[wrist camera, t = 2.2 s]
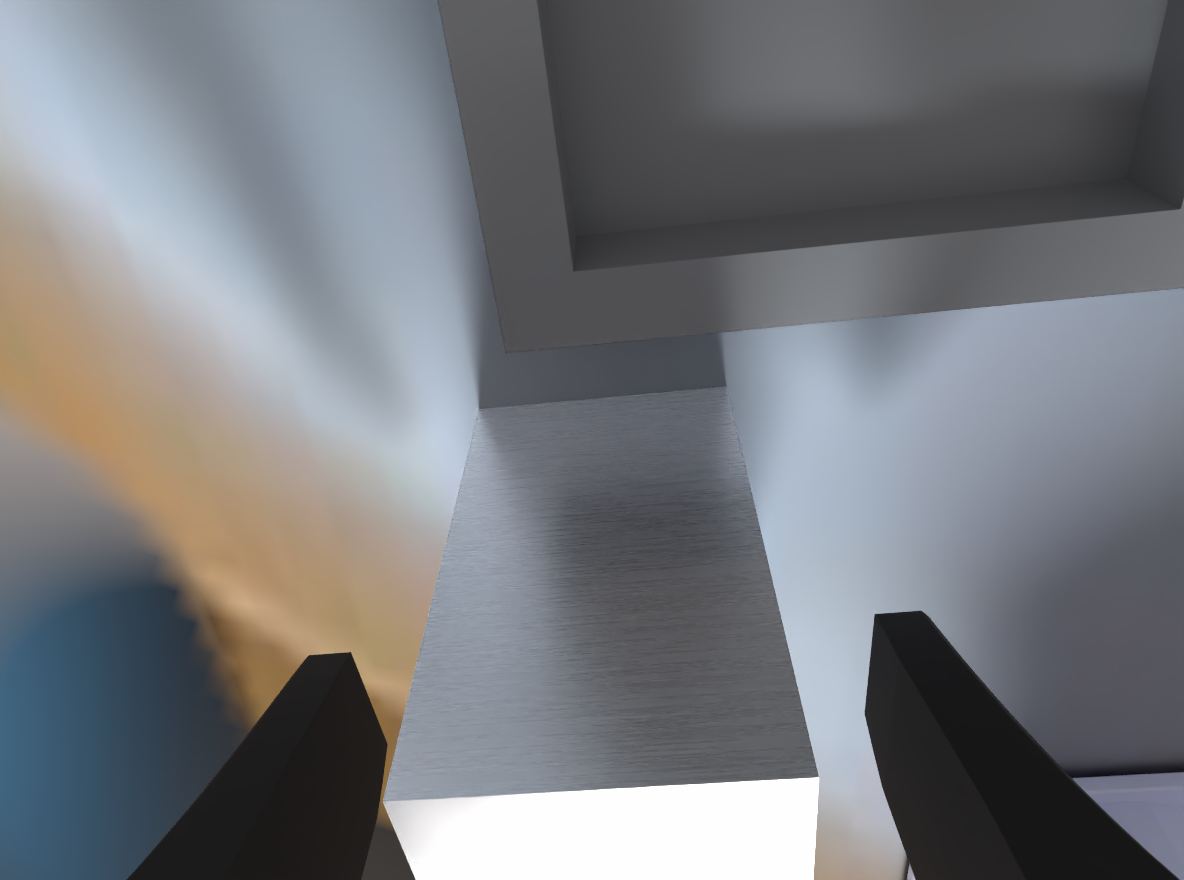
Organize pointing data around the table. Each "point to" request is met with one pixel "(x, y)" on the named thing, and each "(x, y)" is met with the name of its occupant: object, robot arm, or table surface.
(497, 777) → the block
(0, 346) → the table surface
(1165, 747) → the table surface
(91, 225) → the table surface
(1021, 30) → the pallet
